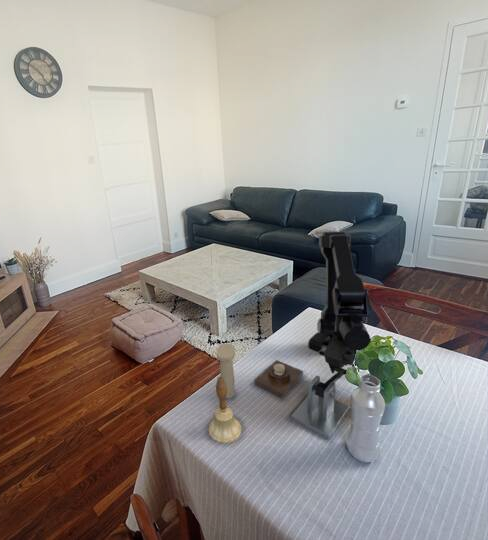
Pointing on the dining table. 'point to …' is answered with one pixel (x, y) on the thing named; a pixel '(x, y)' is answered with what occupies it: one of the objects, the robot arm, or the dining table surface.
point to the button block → (279, 379)
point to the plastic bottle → (366, 419)
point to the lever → (329, 381)
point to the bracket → (320, 410)
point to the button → (279, 369)
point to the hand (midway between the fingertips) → (342, 376)
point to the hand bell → (224, 418)
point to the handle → (227, 366)
